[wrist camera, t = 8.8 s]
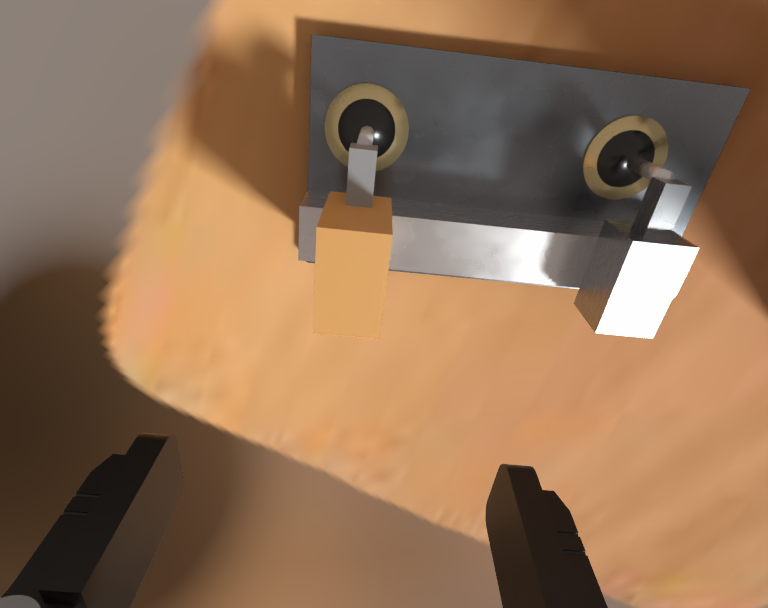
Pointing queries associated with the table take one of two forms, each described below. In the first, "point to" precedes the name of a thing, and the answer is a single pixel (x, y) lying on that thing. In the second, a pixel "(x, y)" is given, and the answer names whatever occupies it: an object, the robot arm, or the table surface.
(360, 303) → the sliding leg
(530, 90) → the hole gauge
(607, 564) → the table surface
